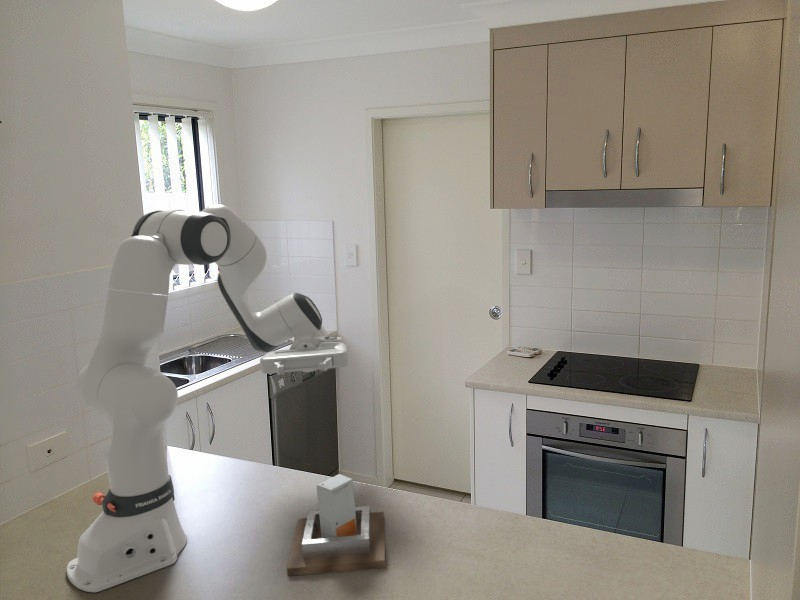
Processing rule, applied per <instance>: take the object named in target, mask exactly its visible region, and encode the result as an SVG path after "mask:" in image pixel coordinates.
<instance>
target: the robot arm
mask: <svg viewBox="0 0 800 600" xmlns="http://www.w3.org/2000/svg"><path fill="white" fill-rule="evenodd" d="M265 247H266V246H264V243H263V242H262V240H261V238H260V237H259V235H257V234H256V232H255V231H254V230H253V229H252V227H251V226H250V225H249V224H247V222H246V221H245V220H244V219H243V218H242V217H241V216H240V215H238V214H237V213H236V212H235V211H234V210H232V209H231V208H230V207H229V206H227V205H225V204H221V203H219V204H218V203H217V204H216V203H215V204H211V205H209V206H207V207H205V208H203V209H202V210H201V211H198V212H197V211H189V210H184V209H171V210H154V211H151V212H147V213H146V214H144V215H141V217H140V218H139V219H138V220H137V221H136V224H135V225H134V228H133V230H132V234H131V236H130V237H126V238H125V239H123V240H122V241H121V243H120V244H119V246H118V248H117V251H116V254H115V257H114V260H113V263H112V268H111V270H110V276H109V281H108V287H107V288H108V289H107V293H106V303H105V307H104V308H105V309H104V316H103V322H102V326H101V331H100V334H99V338H98V340H97V342H96V346H95V348H94V350H93V352H92V354H91V357H90V360H89V361H88V363H87V364H86V365H85V366H84V367H83V368H82V369H81V370H80V371H79V374H78V375H77V378H76V380H75V381H76V383H75V390H76V394H77V396H78V398H79V399H80V400H81V401H82V403H84V404H85V405H86V407H88V408H89V409H91V411H93V412H96V413H98V414H101V415H104V416H107V417H108V418H109V420H110V422H111V438H110V444H109V445H108V446H107V448H106V450H105V452H104V461H105V465H106V471H107V478H108V483H109V484H108V485H109V490H108V491H107V493H106V494H103V493H102V492H96V493H94V495H93V497H92V502H94V503H96V505H97V506H102V512H100V513H99V516H97V518H95V520H93V522H92V523H91V524H90V525H89V527H88V528H87V529H86V530H85V531H84V532H83V533H82V534H81V535H80V537H79V540H78V541H77V548H76V549H77V551H76V552H77V557H75V558H73V559H72V560H70V561H69V562H68V564H67V566H66V575H67V579H68V580H69V582H70V583H71V584H72V585H73V587H75V588H77V589H78V590H80V591H81V590H82V591H84V592H88V593H97V592H102V591H105V590H106V589H110V588H112V587H114V586H117V585H120V584H122V583H125V582H129V581H130V580H134V579H136V578H139V577H142V576H144V575H147V574H150V573H151V572H152V573H153V572H155V571H157V570H160V569H163V568H166V567H168V566H171V565H173V564H175V563H176V561H177V559H178V555H179V553H180V552H181V551H182V550H183V549H184V548H185V546H186V544H187V542H188V536H187V534H186V533H185V531H184V529H183V526H182V524H181V522H180V518H179V516H178V513H177V508H176V506H175V505H176V504H175V499H176V498H175V489H174V484H173V480H172V479H173V478H172V476H171V474H169V468H168V461H167V453H166V443H165V441H166V440H165V439H166V428H167V422H168V419H169V418H170V417H171V416H172V415H173V413H174V411H175V410H176V407H177V404H178V399H179V397H178V396H179V394H178V389H177V387H176V385H175V382H173V380H172V379H171V378H169V377H168V376H167V375H165V374H164V373H162V372H160V371H159V370H158V369H156V368H152V367H148V366H146V363H147V360H148V357H149V354H150V352H151V350H152V348H153V346H154V344H155V343H156V342H158V341H159V340H160V339H161V337H162V336H163V334H164V332H165V331H164V330H165V323H166V316H167V308H168V307H167V306H168V301H169V300H168V299H169V290H170V279H171V277H170V276H171V273H172V270H173V269H174V267H175V266H176V265H184V266H185V265H198V266H204V265H210V264H213V263H215V264H216V266H217V267H218V269H219V274H218V276H217V284H218V288H219V291H220V293H221V294H222V297H223V299H224V300H225V302H226V304H227V306H228V308H229V309H230V311H231V313H232V314H233V315H234V317H235V319H236V320H237V322H238V324H239V325H240V327H241V329H242V330H243V332H244V334H245V337H246V339H247V341H248V343H249V345H250V346H251V348H253V349H254V350H255V351H258V352H262V353H265V354H263V355H262V356H261V357H260V360H259V365H260V372H261V373H263V374H277V375H278V376H280V375H285V373H288V372H290V373H291V372H302V373H303V372H304V373H313V372H315V371H317V370H319V372H326V371H328V370H329V369H339V368H347V367H349V355H348V347H347V345H346V344H345V343H344V341H343V338H342V337H340V336H339V337H336V336H329V334H328V332H327V330H326V329H325V327H324V326H323V316H322V315H321V313H320V310H319V309H318V307H317V306H316V304H315V302H314V301H313V300H312V299H311V298H309V296H306V295H304V294H302V293H298V292H292V293H291V294H289V295H287V296H285V297H283V298H282V299H280V300H278V301H276V302H275V303H274V304H272V305H270V306H268V307H267V308H265V309H262V310H261V311H258V312H256V311H255V312H254V311H253V309H252V306H250V304H249V301H248V300H247V299H246V297H245V295H246V293H247V292H248V290H249V289H250V287H251V286H252V285H253V284H254V283H255V282H256V281H257V280H258V279H259V277H260V276H261V274H263V271H264V269H265V267H266V263H267V249H266V248H265ZM292 338H294V340H293V341H292V343H291V345H290V347H289V349H279V350H275V349H277V348H278V347H279V346H281V345H282V344H284V343H285V342H287V341H289V340H291V339H292Z"/></svg>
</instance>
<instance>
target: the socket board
mask: <svg viewBox="0 0 800 600" xmlns="http://www.w3.org/2000/svg"><path fill="white" fill-rule="evenodd" d="M355 513H356V526H357V535H355V536H344V537H332V538H322V537H321V526H320V516H319V509H318V510H308V512H307V517H304V518H302V517H301V518H298V519H297V524H296V527H295V531H294V536H293V540H292V545H291V549H290V553H289V558H288V563H287V566H286V573H287V577H291V576H292V577H293V576H303V575H305V576H306V575H315V574H328V573H336V572H337V573H338V572H348V571H349V572H352V571H359V570H360V571H361V570H373V569H383V568H386V547H385V546H386V542H385V541H386V540H385V537H386V535H385V534H386V533H385V512H384V511H376V512H375V511H374V512H371V510H370V505H366V506H365V505H364V506H355Z"/></svg>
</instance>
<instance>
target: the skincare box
mask: <svg viewBox="0 0 800 600" xmlns="http://www.w3.org/2000/svg"><path fill="white" fill-rule="evenodd" d="M316 491H317V492H316V493H317V501H318V502H317V505H318V510H319V516H320V526H321V537H322V538H332V537H344V536H355V535H357V526H356V513H355V507H356V504H355V503H356V502H355V492H354V491H355V489H354V480H353V478H350V477H349V476H346V475H344V474H340V473H338V474H336V475H334V476H332V477H329V478H327V479H326V480H324V481H322V482H320V483H318V484H316Z"/></svg>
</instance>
